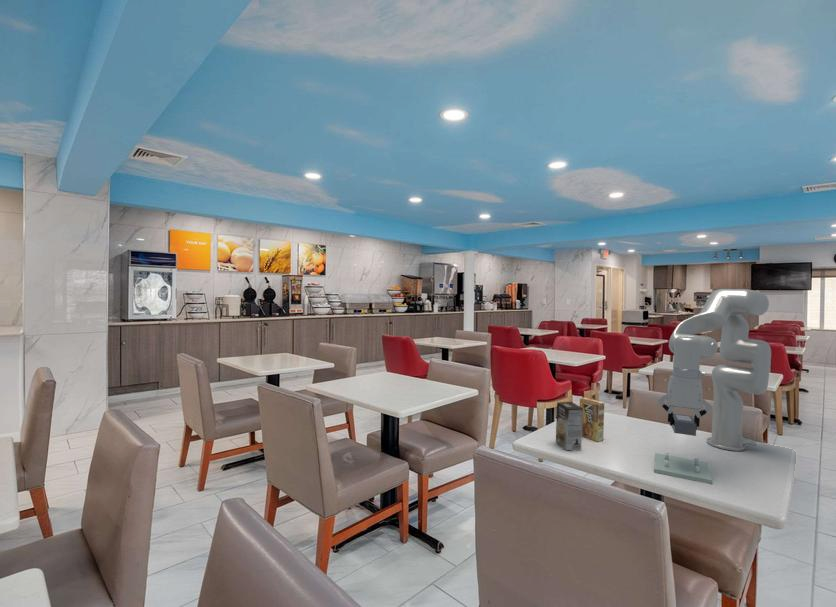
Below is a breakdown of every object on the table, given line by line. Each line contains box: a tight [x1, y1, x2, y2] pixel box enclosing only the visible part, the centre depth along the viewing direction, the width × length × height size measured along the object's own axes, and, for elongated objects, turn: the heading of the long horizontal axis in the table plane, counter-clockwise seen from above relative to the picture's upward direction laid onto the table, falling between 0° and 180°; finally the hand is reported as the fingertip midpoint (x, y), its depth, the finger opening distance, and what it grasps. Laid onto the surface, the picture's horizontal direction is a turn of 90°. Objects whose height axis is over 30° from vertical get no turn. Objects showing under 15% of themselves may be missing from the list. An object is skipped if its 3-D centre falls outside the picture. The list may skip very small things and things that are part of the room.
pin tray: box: [653, 452, 713, 485], centre depth 147 cm, size 16×16×3 cm
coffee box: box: [555, 401, 583, 451], centre depth 166 cm, size 9×6×16 cm
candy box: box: [579, 397, 605, 442], centre depth 176 cm, size 9×4×15 cm, turn 33°
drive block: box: [671, 413, 697, 437], centre depth 147 cm, size 6×10×4 cm, turn 156°
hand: (683, 426), depth 147 cm, fingers closed on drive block, 6 cm apart
